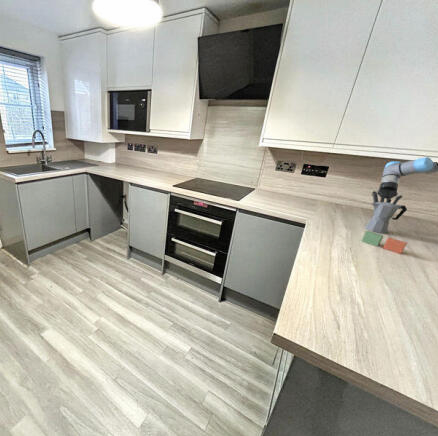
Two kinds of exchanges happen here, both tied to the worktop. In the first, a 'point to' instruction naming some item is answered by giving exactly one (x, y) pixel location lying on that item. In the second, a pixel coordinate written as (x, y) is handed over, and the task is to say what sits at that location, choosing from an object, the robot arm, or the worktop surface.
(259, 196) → the worktop surface
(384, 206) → the coffeepot
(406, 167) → the robot arm
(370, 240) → the pair of rectangular blocks
